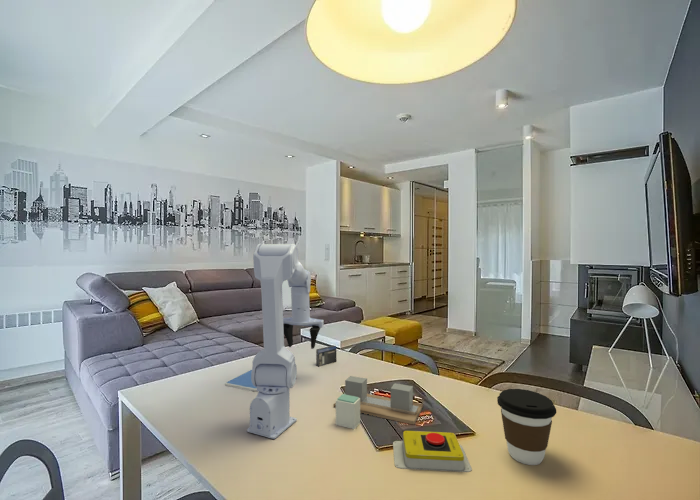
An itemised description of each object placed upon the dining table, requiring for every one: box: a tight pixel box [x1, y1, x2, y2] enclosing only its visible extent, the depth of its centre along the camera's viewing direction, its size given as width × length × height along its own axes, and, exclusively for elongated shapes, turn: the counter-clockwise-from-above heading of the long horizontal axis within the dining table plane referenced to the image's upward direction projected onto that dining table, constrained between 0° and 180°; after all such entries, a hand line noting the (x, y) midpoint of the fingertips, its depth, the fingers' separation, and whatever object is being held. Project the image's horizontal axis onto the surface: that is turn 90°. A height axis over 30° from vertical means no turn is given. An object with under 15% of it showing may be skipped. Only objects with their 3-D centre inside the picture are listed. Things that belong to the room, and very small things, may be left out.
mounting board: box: [333, 393, 424, 425], centre depth 93 cm, size 10×22×1 cm, turn 66°
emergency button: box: [392, 430, 473, 473], centre depth 71 cm, size 9×4×15 cm
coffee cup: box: [496, 388, 557, 466], centre depth 71 cm, size 11×11×12 cm
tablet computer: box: [224, 369, 258, 392], centre depth 114 cm, size 19×13×1 cm, turn 157°
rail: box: [360, 397, 418, 415], centre depth 93 cm, size 4×21×1 cm, turn 66°
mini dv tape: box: [315, 344, 337, 368], centre depth 127 cm, size 8×2×6 cm, turn 131°
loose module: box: [335, 393, 361, 430], centre depth 84 cm, size 4×5×6 cm
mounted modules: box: [344, 375, 414, 411], centre depth 93 cm, size 4×18×5 cm, turn 66°
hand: (301, 346), depth 112 cm, fingers open, 7 cm apart
